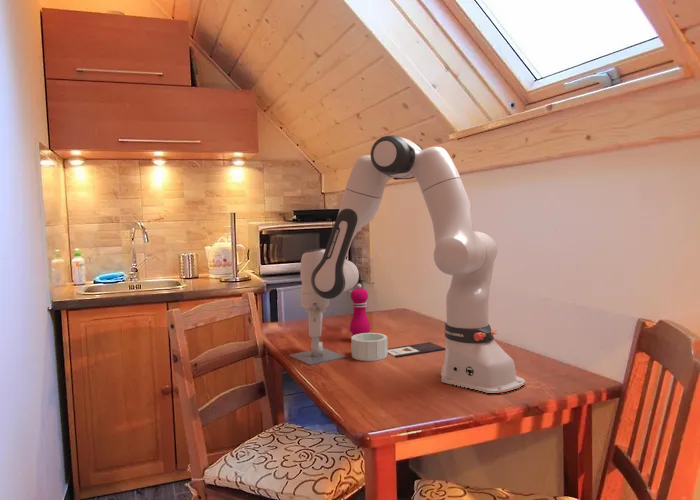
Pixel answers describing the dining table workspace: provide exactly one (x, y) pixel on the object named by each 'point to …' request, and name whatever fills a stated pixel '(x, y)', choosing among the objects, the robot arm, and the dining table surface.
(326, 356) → the lid
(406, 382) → the dining table surface
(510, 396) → the dining table surface
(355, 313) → the pepper mill
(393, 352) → the chocolate bar
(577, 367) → the dining table surface
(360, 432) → the dining table surface
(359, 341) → the bowl
